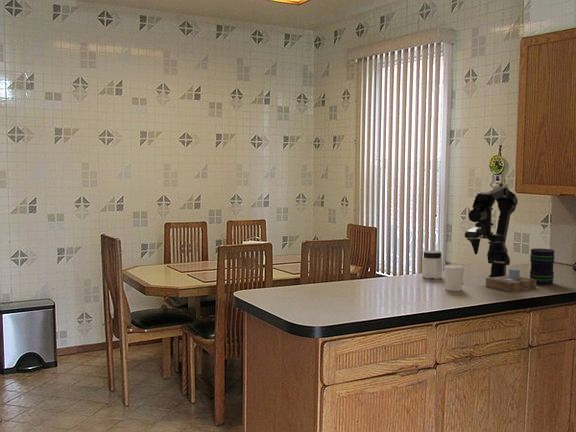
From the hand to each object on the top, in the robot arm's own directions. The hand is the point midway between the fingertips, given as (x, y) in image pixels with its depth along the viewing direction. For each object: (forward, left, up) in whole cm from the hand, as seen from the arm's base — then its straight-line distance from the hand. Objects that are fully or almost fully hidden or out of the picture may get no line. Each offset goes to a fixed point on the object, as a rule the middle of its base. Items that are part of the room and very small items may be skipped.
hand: (483, 255), depth 279 cm
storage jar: (-21, +14, -12) cm, 28 cm away
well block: (-2, +14, -12) cm, 19 cm away
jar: (+12, -20, -12) cm, 26 cm away
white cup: (+23, +6, -12) cm, 27 cm away
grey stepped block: (-2, +14, -11) cm, 18 cm away
